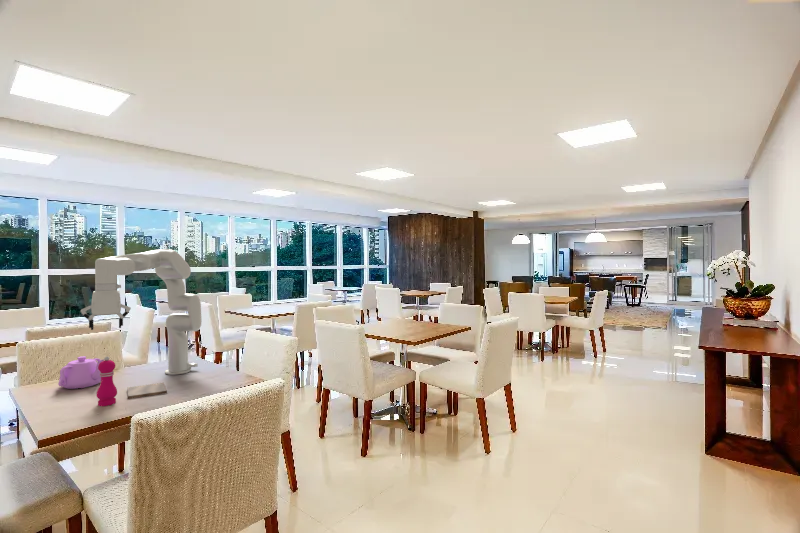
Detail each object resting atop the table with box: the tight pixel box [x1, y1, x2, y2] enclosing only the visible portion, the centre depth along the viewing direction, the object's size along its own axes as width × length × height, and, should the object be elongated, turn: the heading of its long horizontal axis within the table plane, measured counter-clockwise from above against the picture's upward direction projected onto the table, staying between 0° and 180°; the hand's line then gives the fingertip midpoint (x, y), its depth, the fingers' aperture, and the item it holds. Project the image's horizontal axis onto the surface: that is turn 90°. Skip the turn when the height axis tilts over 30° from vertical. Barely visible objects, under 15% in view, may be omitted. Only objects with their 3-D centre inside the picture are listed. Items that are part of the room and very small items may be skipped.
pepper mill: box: [95, 356, 118, 407], centre depth 180 cm, size 7×7×20 cm
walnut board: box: [127, 382, 168, 400], centre depth 196 cm, size 15×15×1 cm
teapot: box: [57, 355, 105, 390], centre depth 205 cm, size 22×22×14 cm
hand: (106, 328), depth 179 cm, fingers open, 9 cm apart
